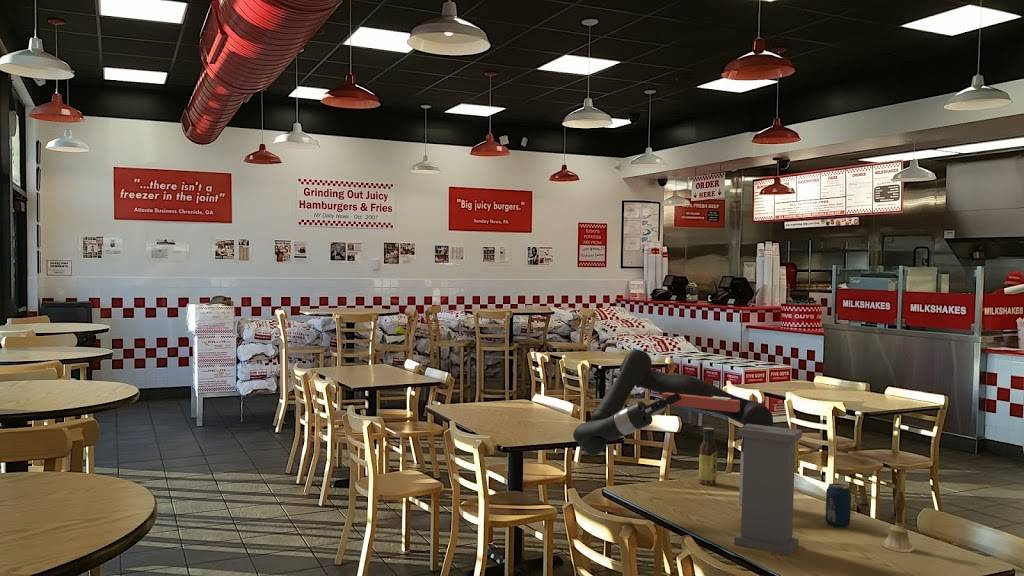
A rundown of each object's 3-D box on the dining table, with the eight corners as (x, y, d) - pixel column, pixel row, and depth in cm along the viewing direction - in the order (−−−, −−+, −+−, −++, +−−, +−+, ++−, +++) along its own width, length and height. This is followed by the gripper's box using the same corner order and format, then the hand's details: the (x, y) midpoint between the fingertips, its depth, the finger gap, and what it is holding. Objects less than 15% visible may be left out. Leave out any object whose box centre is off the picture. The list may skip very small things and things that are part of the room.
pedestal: (734, 544, 224) (737, 428, 223) (744, 535, 232) (747, 423, 232) (790, 555, 216) (794, 435, 215) (798, 545, 224) (802, 430, 224)
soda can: (850, 524, 246) (851, 484, 246) (849, 530, 240) (850, 489, 240) (826, 520, 249) (827, 481, 249) (824, 526, 243) (825, 486, 243)
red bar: (661, 403, 238) (661, 392, 238) (665, 402, 241) (666, 391, 241) (736, 412, 227) (736, 400, 227) (739, 410, 230) (740, 398, 230)
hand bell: (921, 552, 222) (923, 494, 221) (893, 553, 220) (895, 494, 220) (901, 542, 230) (903, 486, 230) (875, 543, 228) (877, 486, 228)
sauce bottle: (716, 486, 287) (718, 430, 287) (698, 485, 288) (700, 429, 288) (715, 482, 294) (717, 427, 293) (698, 480, 295) (699, 426, 295)
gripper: (618, 409, 239) (667, 385, 231) (636, 404, 251) (683, 381, 244) (629, 433, 237) (679, 409, 230) (647, 426, 250) (695, 403, 242)
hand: (681, 395), depth 237 cm, fingers closed on red bar, 3 cm apart
